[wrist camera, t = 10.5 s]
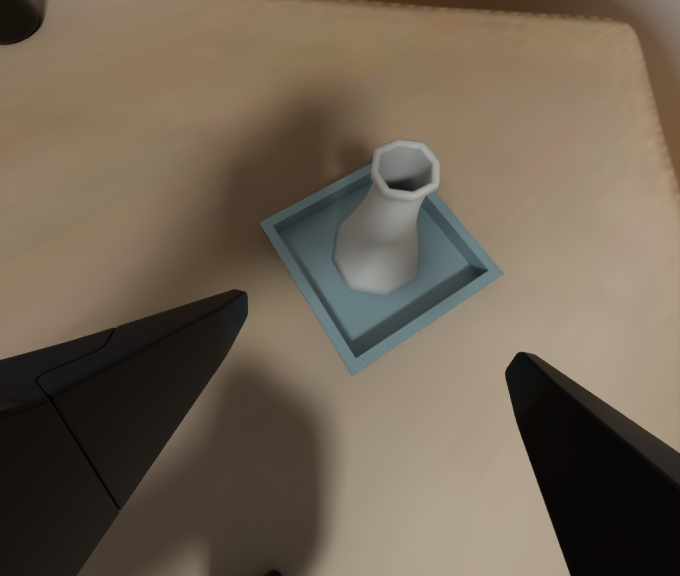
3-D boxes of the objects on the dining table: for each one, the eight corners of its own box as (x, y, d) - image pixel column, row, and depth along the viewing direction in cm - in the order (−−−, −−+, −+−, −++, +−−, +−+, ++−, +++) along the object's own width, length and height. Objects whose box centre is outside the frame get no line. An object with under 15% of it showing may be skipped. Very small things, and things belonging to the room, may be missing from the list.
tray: (490, 280, 21) (503, 273, 19) (351, 374, 19) (352, 375, 17) (393, 163, 24) (398, 148, 22) (265, 233, 22) (259, 222, 20)
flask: (407, 210, 22) (459, 95, 13) (429, 288, 20) (511, 225, 11) (325, 222, 22) (314, 114, 12) (339, 304, 20) (340, 252, 10)
